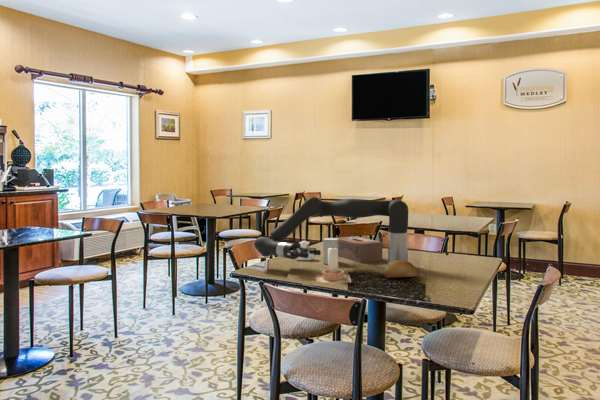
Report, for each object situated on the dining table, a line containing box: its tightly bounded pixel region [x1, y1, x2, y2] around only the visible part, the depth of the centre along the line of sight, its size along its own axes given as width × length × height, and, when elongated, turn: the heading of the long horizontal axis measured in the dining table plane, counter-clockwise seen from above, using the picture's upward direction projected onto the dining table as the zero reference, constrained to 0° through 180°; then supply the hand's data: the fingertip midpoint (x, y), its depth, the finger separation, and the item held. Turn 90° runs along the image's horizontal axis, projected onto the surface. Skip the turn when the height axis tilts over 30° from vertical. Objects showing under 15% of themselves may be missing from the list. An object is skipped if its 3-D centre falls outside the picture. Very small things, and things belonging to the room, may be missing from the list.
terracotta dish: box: [321, 269, 345, 281], centre depth 210 cm, size 9×9×3 cm
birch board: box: [315, 273, 352, 284], centre depth 210 cm, size 15×15×2 cm
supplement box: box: [322, 237, 339, 265], centre depth 251 cm, size 7×7×13 cm
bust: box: [295, 240, 316, 262], centre depth 261 cm, size 12×8×11 cm
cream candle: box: [327, 246, 339, 273], centre depth 210 cm, size 4×4×13 cm
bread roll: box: [383, 260, 418, 279], centre depth 218 cm, size 10×15×8 cm, turn 95°
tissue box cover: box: [337, 235, 383, 264], centre depth 266 cm, size 26×14×10 cm, turn 28°
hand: (314, 254), depth 217 cm, fingers open, 8 cm apart
